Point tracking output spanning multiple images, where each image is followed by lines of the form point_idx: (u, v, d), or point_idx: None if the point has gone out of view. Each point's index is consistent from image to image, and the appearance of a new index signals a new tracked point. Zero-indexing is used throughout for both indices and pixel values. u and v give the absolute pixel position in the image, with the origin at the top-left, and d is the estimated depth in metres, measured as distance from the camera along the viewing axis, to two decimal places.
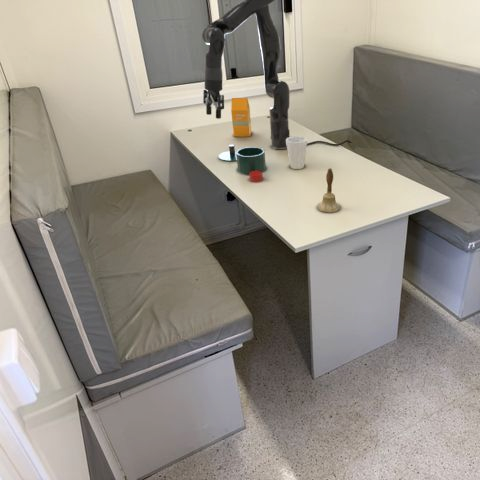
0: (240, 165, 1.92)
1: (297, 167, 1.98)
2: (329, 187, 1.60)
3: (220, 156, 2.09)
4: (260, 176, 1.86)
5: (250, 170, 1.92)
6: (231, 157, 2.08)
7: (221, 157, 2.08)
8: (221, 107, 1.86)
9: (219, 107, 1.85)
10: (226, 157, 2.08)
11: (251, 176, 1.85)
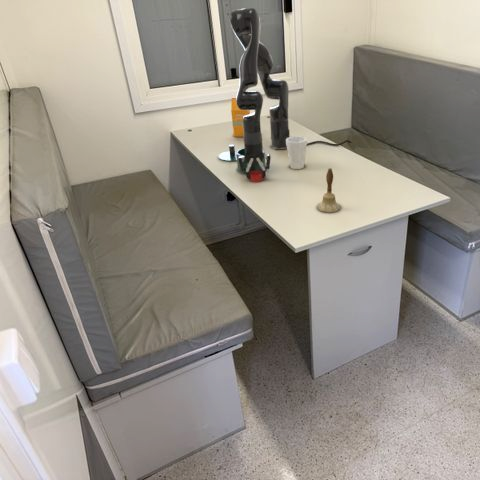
0: None
1: (297, 167, 1.98)
2: (329, 187, 1.60)
3: (220, 156, 2.09)
4: (260, 176, 1.86)
5: (250, 170, 1.92)
6: (231, 157, 2.08)
7: (221, 157, 2.08)
8: None
9: (269, 166, 1.86)
10: (226, 157, 2.08)
11: (251, 176, 1.85)
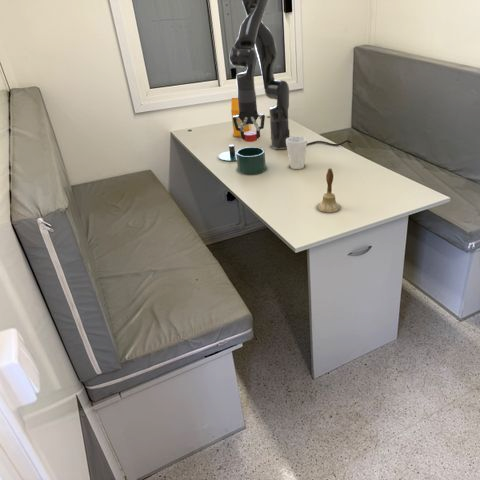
0: (240, 165, 1.92)
1: (297, 167, 1.98)
2: (329, 187, 1.60)
3: (220, 156, 2.09)
4: (254, 136, 1.86)
5: (250, 170, 1.92)
6: (231, 157, 2.08)
7: (221, 157, 2.08)
8: None
9: (263, 126, 1.86)
10: (226, 157, 2.08)
11: (246, 136, 1.86)
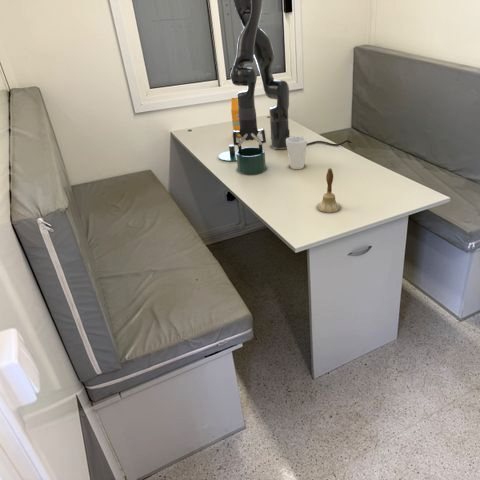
0: (240, 165, 1.92)
1: (297, 167, 1.98)
2: (329, 187, 1.60)
3: (220, 156, 2.09)
4: None
5: (250, 170, 1.92)
6: (231, 157, 2.08)
7: (221, 157, 2.08)
8: (265, 140, 1.93)
9: (265, 140, 1.92)
10: (226, 157, 2.08)
11: None
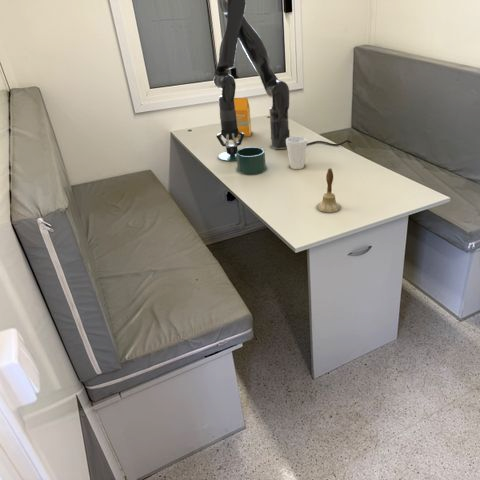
0: (240, 165, 1.92)
1: (297, 167, 1.98)
2: (329, 187, 1.60)
3: (220, 156, 2.09)
4: None
5: (250, 170, 1.92)
6: (231, 157, 2.08)
7: (221, 157, 2.08)
8: None
9: (240, 143, 2.07)
10: (226, 157, 2.08)
11: None
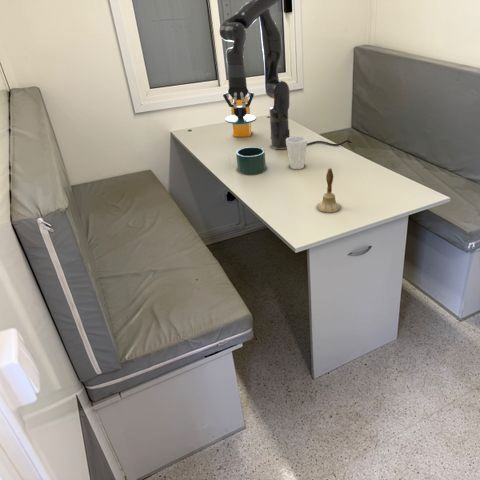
0: (240, 165, 1.92)
1: (297, 167, 1.98)
2: (329, 187, 1.60)
3: (227, 118, 1.89)
4: None
5: (250, 170, 1.92)
6: (239, 119, 1.88)
7: (228, 119, 1.88)
8: (249, 103, 1.88)
9: (249, 104, 1.87)
10: (233, 119, 1.88)
11: None
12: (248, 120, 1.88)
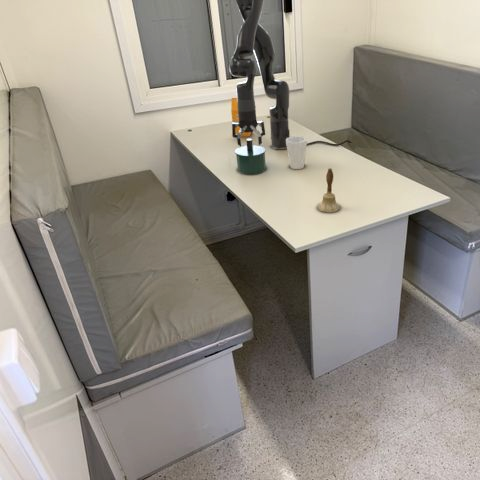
0: (240, 165, 1.92)
1: (297, 167, 1.98)
2: (329, 187, 1.60)
3: (237, 151, 1.92)
4: None
5: (250, 170, 1.92)
6: (249, 152, 1.91)
7: (238, 152, 1.91)
8: (264, 132, 1.91)
9: None
10: (243, 152, 1.91)
11: None
12: (258, 153, 1.91)
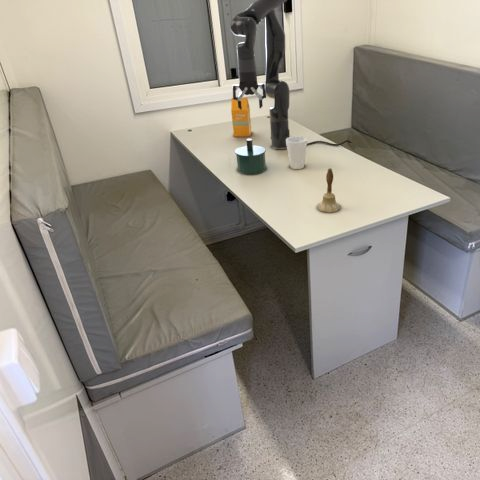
0: (240, 165, 1.92)
1: (297, 167, 1.98)
2: (329, 187, 1.60)
3: (237, 151, 1.92)
4: None
5: (250, 170, 1.92)
6: (249, 152, 1.91)
7: (238, 152, 1.91)
8: (265, 95, 1.88)
9: None
10: (243, 152, 1.91)
11: None
12: (258, 153, 1.91)
